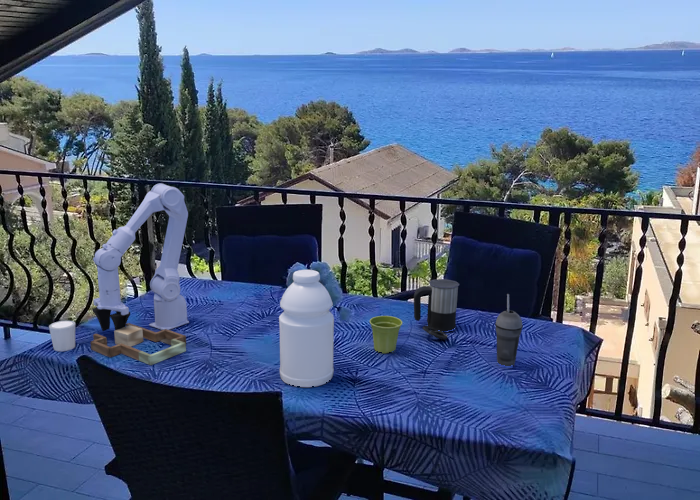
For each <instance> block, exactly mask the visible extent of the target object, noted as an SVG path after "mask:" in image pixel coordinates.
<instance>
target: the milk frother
mask: <svg viewBox="0 0 700 500" xmlns="http://www.w3.org/2000/svg"><path fill="white" fill-rule="evenodd" d="M459 286H460V283H459V282H457V281H456V280H451V279H445V278H444V279H443V278H441V279H440V278H439V279H438V278H437V279H432V280H430V281H429V285H425V286H424V285H423V286H420V287H418V288H417V289H416V290H415V291H414V294H413V317H414V320H415V321H418V322H419V321H420V320H421V316H422V315H421V314H422V313H421V306H422V305H421V300H422V299H421V297H422V296H423V295H426V294H427V295H428V301H427V312H426V313H427V318H426V322H427V324H428V326H427V325H424V326H423V327H422V330H423V331H425V332H426V333H427V334H429V335H431V336H432V337H434V338H436V339H438V340H439V339H441V340H447V339H448V334H446V332H442V331H448V330H452V329H454V328H455V327H456V328H457V326H456V323H457V320H456V319H457V303H458V290H459ZM438 330H440V331H438Z"/></svg>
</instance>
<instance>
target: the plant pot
mask: <svg viewBox="0 0 700 500" xmlns="http://www.w3.org/2000/svg"><path fill="white" fill-rule="evenodd" d="M369 324H370V328H371V330H372V339H373V341H372V342H373V349H374V350H375V352H377V351H378V352H377V353H379V352H382V353H381V354H389V352H392V351H394V350H395V351H396V349H397V343H398V337H399V334H400V333H399V332H400V329H401V326H402V325H403V321H402V319H400V318H398V317H397V316H391V315H378V316H374V317H372V318H370V319H369ZM395 351H394V352H395ZM392 353H393V352H392Z"/></svg>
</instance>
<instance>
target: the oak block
mask: <svg viewBox="0 0 700 500" xmlns="http://www.w3.org/2000/svg"><path fill="white" fill-rule="evenodd" d="M113 332H114V343H115V345H118V344H121V343H122V344H125V345H127V346H130V347H134V346H137V345H139V344H141V343H143V342H144V338H143V330H142V329H141V328H138V327H134V326H131V325H129V326H125V327H123V328H121V329H118V330H115V329H114V331H113Z"/></svg>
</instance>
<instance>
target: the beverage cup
mask: <svg viewBox="0 0 700 500" xmlns="http://www.w3.org/2000/svg"><path fill="white" fill-rule="evenodd" d="M506 296H507V297H506V308H507V309H506V310H504V311H502V312H500V313H499V314H498V316H497V318H496V320H495V324H494V326H495V333H496V361H497V362H498V363H499V364H501V365H505V366H511V365H514V366H515V363H516V360H517V353H518V347H519V343H520V337H521V335H522V330H523V327H524V326H523V320H522V318H521V316H520V315H519V314H518V313H517V312H516V311H514V310H510V294H509V293H507V294H506ZM497 362H496V363H497Z"/></svg>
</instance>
